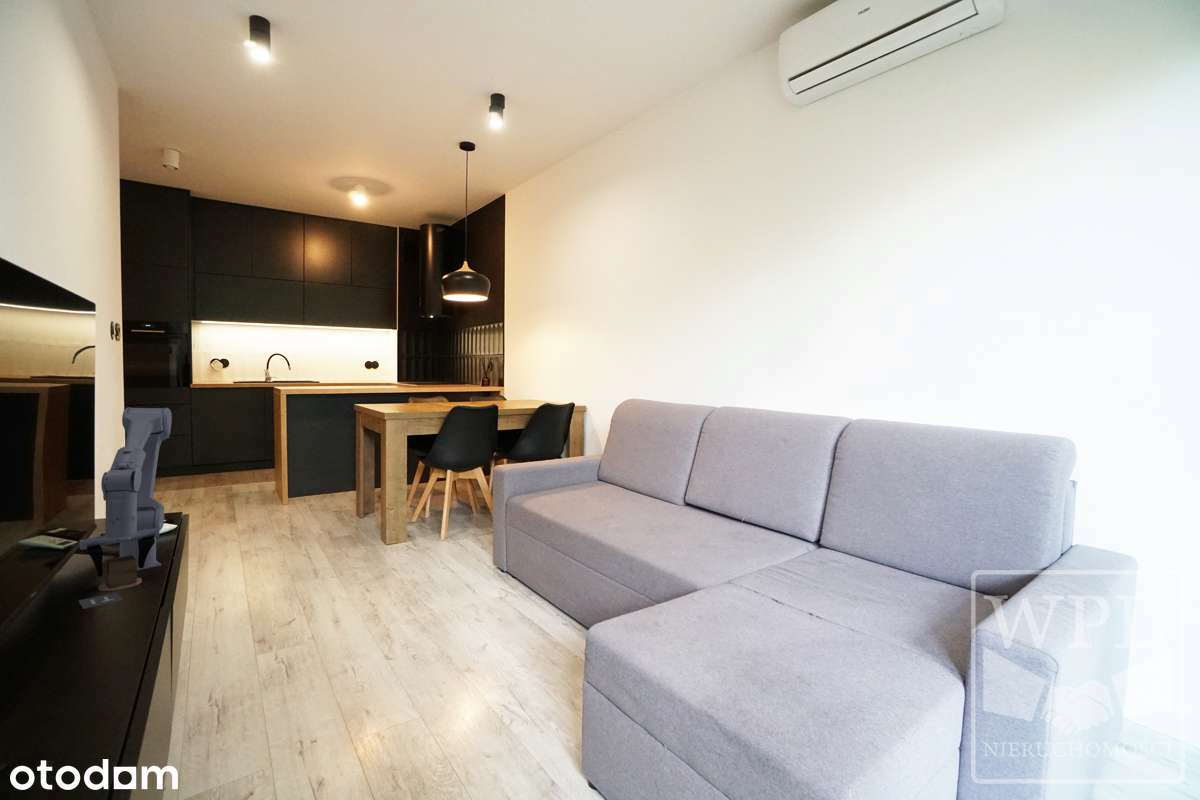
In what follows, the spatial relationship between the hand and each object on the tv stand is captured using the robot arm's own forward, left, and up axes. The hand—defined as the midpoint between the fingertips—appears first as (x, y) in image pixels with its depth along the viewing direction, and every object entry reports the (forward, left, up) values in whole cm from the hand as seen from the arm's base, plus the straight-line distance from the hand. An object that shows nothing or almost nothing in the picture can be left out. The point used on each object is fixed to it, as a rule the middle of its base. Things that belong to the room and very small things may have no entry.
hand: (120, 571), depth 129 cm
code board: (+9, -5, -4) cm, 10 cm away
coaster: (0, 0, -4) cm, 4 cm away
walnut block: (0, 0, -3) cm, 3 cm away
